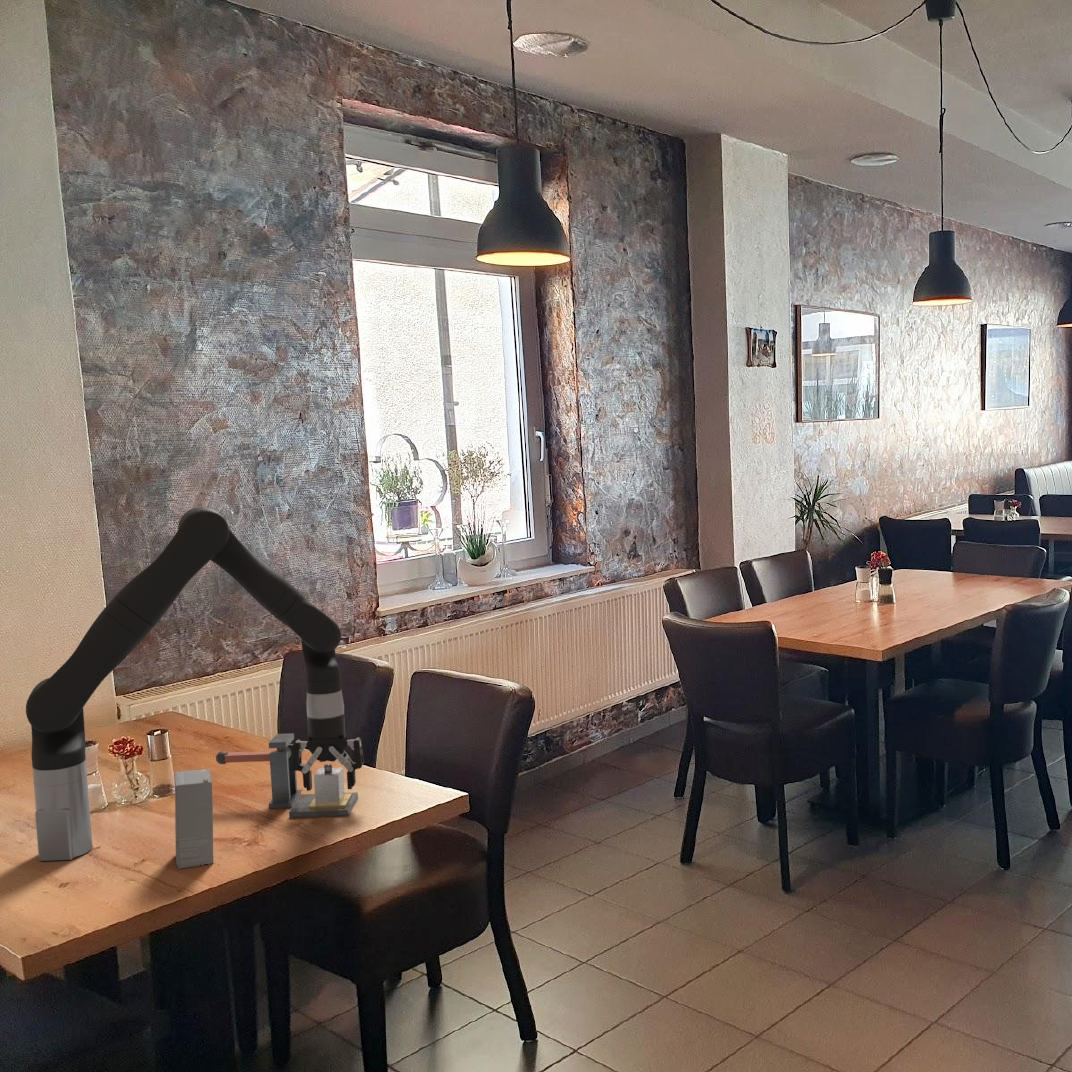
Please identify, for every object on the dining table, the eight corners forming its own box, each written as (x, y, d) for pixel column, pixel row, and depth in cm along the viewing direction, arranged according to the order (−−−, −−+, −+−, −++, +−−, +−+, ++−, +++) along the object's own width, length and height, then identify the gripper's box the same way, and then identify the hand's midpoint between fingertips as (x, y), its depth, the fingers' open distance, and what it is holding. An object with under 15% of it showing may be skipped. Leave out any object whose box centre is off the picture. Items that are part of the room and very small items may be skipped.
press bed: (348, 815, 212) (344, 749, 211) (260, 818, 212) (256, 752, 211) (361, 792, 226) (357, 730, 225) (279, 795, 227) (275, 733, 226)
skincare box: (175, 854, 194) (169, 771, 193) (215, 848, 197) (209, 766, 196) (176, 871, 187) (170, 784, 185) (218, 864, 189) (212, 778, 188)
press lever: (286, 764, 220) (286, 751, 219) (213, 767, 220) (212, 754, 220) (291, 758, 224) (291, 746, 224) (219, 761, 224) (218, 748, 224)
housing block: (339, 803, 214) (337, 768, 214) (315, 804, 214) (313, 769, 214) (344, 795, 219) (342, 761, 219) (320, 796, 219) (318, 761, 219)
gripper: (286, 718, 212) (291, 796, 213) (356, 715, 211) (360, 793, 213) (295, 709, 219) (300, 784, 220) (363, 706, 219) (367, 782, 220)
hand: (330, 788), depth 217 cm, fingers open, 8 cm apart
